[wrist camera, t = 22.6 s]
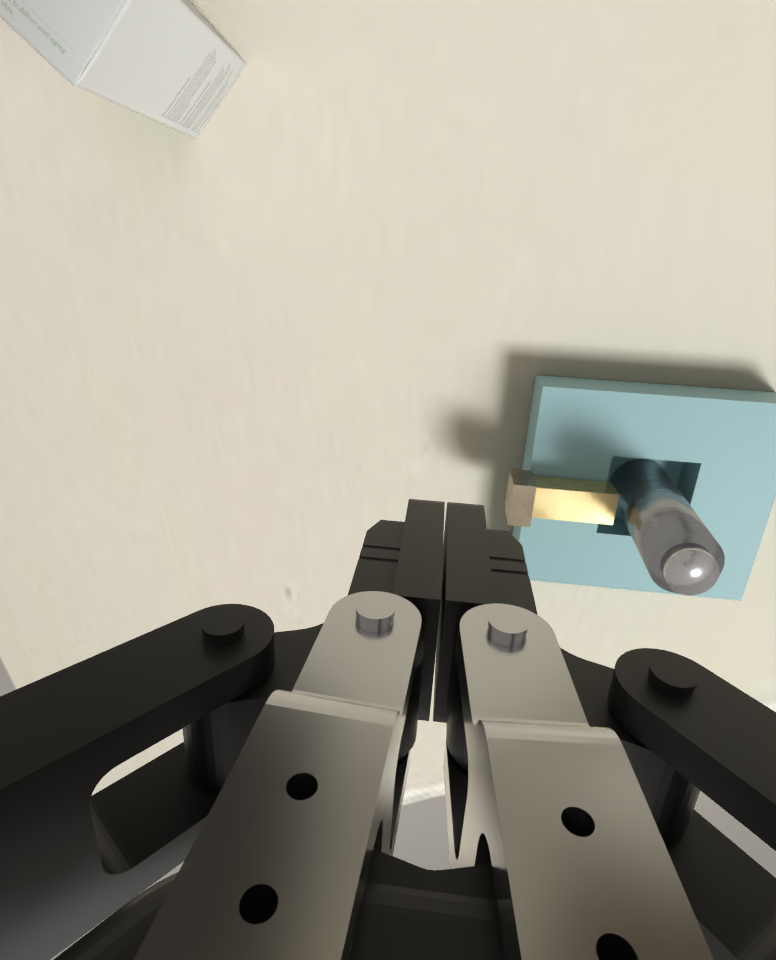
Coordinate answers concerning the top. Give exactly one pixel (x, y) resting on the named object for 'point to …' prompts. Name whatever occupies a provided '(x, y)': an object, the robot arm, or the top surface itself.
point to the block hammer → (558, 499)
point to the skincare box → (134, 54)
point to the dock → (670, 443)
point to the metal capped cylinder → (666, 529)
